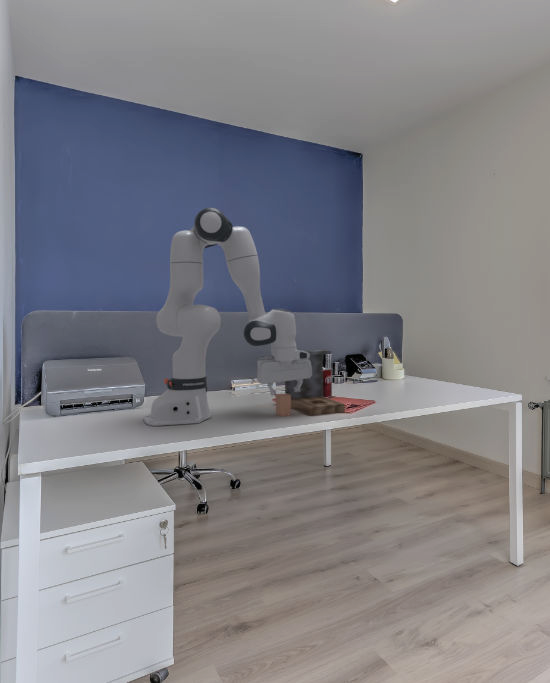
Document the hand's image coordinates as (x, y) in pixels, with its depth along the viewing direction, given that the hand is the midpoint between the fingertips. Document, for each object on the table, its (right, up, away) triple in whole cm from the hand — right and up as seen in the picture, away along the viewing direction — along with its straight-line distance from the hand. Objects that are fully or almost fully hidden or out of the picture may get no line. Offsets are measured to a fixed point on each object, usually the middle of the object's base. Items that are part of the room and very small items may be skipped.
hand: (285, 393), depth 164 cm
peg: (-1, -7, 0) cm, 7 cm away
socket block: (+11, -7, +8) cm, 15 cm away
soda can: (+17, -5, +32) cm, 37 cm away
